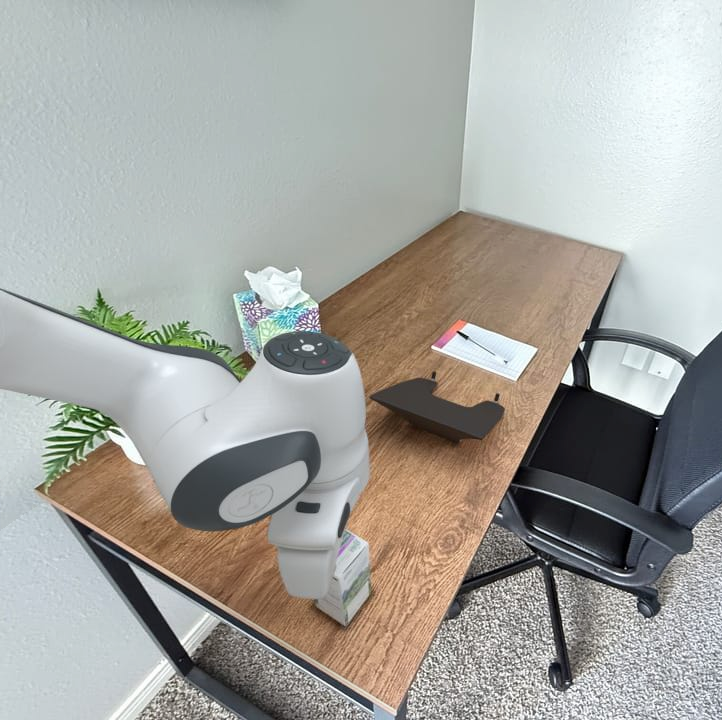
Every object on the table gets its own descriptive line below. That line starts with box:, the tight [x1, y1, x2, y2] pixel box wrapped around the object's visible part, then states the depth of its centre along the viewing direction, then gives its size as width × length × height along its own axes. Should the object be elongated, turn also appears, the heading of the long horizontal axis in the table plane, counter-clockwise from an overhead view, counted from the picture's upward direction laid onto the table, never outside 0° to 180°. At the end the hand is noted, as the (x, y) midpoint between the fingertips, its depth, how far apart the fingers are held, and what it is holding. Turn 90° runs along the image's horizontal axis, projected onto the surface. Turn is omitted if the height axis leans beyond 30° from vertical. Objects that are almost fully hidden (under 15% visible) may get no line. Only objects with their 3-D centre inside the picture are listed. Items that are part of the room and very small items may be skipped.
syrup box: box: [313, 528, 372, 627], centre depth 63 cm, size 6×6×14 cm
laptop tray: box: [369, 370, 506, 444], centre depth 95 cm, size 23×23×9 cm
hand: (338, 535), depth 58 cm, fingers open, 8 cm apart
